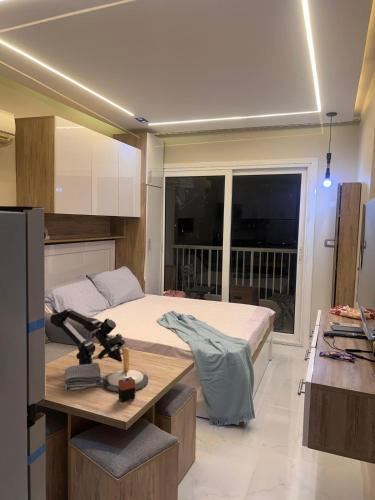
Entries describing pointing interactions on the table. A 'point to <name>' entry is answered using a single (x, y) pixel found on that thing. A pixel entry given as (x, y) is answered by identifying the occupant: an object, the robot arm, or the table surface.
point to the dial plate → (116, 389)
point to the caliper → (107, 353)
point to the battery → (126, 389)
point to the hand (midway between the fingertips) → (121, 361)
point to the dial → (125, 371)
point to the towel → (82, 377)
